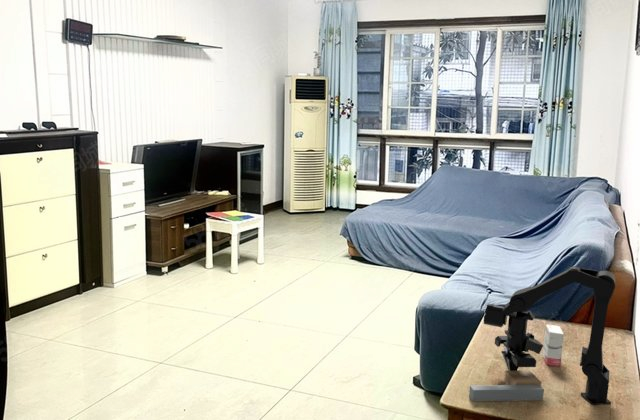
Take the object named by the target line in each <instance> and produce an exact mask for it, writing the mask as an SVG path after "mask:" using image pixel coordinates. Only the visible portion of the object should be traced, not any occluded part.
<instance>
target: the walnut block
mask: <svg viewBox="0 0 640 420" xmlns="http://www.w3.org/2000/svg"><path fill="white" fill-rule="evenodd" d="M504 373H505V374H504V385H540V386H541V387H542V381H541V380H540V379H539V378H538V377H537V376H536V375H535V374H534V373H533V372H532V371H531V370H527V369H526V370H524V369H522V370H519V369H517V370H511V371H508V370H505V372H504Z"/></svg>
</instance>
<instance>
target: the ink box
mask: <svg viewBox="0 0 640 420" xmlns="http://www.w3.org/2000/svg"><path fill="white" fill-rule="evenodd" d="M564 335H565V334H564V332H563V330H562V327H560V325H553V324H546V325H545V333H544V338H543V339H544V342H543V347H542V349H543V350H542V357H543V359H544V361H545V364H546V365H547V366H556V367H561V363H562V354H563V347H564V346H563V343H564Z"/></svg>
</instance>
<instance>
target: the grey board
mask: <svg viewBox="0 0 640 420" xmlns="http://www.w3.org/2000/svg"><path fill="white" fill-rule="evenodd" d="M468 392H469V395H468V397H469V398H470V400H471V402H500V401H501V402H502V401H503V402H504V401H506V402H508V401H512V402H513V401H516V402H517V401H543V400H544V392H545V390H544V388H543V387H542V385H541V386H540V385H506V384H501V385H500V384H497V385H496V384H489V385H488V384H485V385H484V384H483V385H482V384H481V385H477V384H476V385H469V391H468Z"/></svg>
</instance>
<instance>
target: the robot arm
mask: <svg viewBox="0 0 640 420" xmlns="http://www.w3.org/2000/svg"><path fill="white" fill-rule="evenodd" d="M574 283H577V284H580V285H583V287H584V286H585V287H587V288H590V289H593V296H594V297H593V298H594V308H593V315H592V323H591V329H590V337H589V343H588V345H587V347H585V346H582V348H581V356H580V360H579V366H580V367H581V371H582V373H583V374H584V375H585V376H586V378H587V379H586V384H585V392H580V395H581V396H582V397H583V398H584V400H586V401H587V402H588V403H589V404H591V405H611V404H612V401H610V400H609V399H608V393H609V385H610V370H609V369H608V368H607V366H606V365H605V364H604V354H603V343H604V335H605V330H606V328H605V327H606V322H607V315H608V308H609V305H610V302H611V299H612V297H613V294H614V292H615V288H616V276H615V275H614V274H613V273H612V272H611V271H609V270H600V271H599V270H596V269H589V268H584V267H583V268H582V267H579V266H574V265H573V266H571V267H569V268H568V269H566V270H565V271H562V272H560V273H558V274H556V275H554V276H553V277H551V278H548V279H546V280H544V281H542V282H540V283H539V284H537V285H534V286H529V287H524V288H522V289H518V290H516V291H514V293H513V294H512V296H511V297H510V299H509V301H508V302H507V303H506V304H505V306H503V305H502V306H501V305H498V304H497V305H496V304H493V303H489V302H488V303H487V304H486V309H485V312H484V316H483V324H484V325H487V326H492V327H498V328H503V326H506V325H507V329H505V330H504V334H505V335H496V337H495V338H494V345H495V346H496V347H497V348H499V347H500V346H501V345H503V346H502V347H503V350H502V351H501V354H502V356H503V360H504V361H505V365H506V367H507V371H511V370H519V368H536V367H537V359H536V358H534V356H532V354H531V353H529V351H530V352H533V353H535V354H537V355H540V354H541V352H542V351H543V350H542V349H543V347H544V344H543V343H541V342H540V341H539V340H537V339H536V338H535V335H533V333H530V332H527V328H528V320H529V321H534V320H535V317H536V316H535V314H533V313H532V311H531V310H529V309H530V308H531V307H532V306H534V305H535V304H536V303H538V301H539V300H541V299H543V298H544V297H546V296H548V295H550V294H553V293H555V292H557V291H558V290H560V289H563V288H565V287H567V286H569V285H571V284H574ZM527 310H528V311H527ZM507 322H508V324H507ZM527 352H528V353H527Z"/></svg>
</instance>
